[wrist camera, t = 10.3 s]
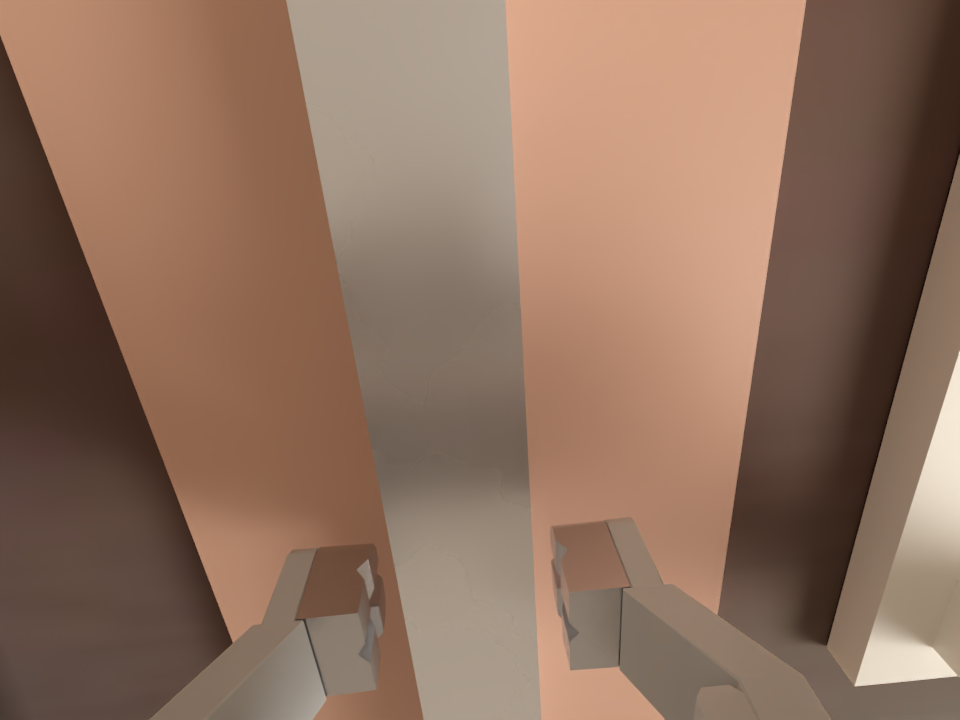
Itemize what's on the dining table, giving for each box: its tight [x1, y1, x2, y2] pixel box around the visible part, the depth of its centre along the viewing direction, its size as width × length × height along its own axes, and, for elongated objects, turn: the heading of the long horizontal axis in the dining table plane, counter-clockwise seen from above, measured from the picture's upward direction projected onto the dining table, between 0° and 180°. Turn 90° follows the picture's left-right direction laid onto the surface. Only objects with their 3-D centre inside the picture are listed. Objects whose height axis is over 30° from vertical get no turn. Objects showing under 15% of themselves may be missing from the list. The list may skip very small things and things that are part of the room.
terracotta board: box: [0, 0, 806, 720], centre depth 12 cm, size 24×12×1 cm, turn 5°
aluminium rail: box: [286, 0, 541, 720], centre depth 11 cm, size 20×2×2 cm, turn 5°
